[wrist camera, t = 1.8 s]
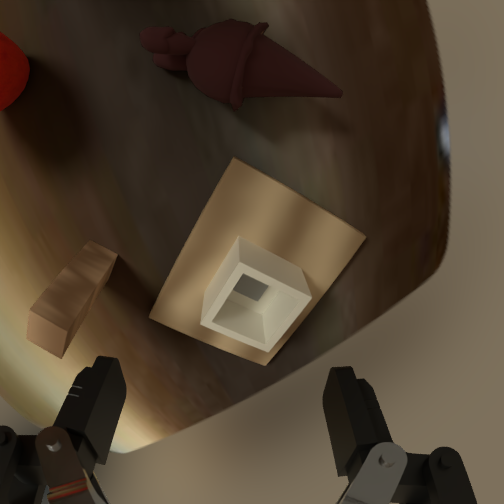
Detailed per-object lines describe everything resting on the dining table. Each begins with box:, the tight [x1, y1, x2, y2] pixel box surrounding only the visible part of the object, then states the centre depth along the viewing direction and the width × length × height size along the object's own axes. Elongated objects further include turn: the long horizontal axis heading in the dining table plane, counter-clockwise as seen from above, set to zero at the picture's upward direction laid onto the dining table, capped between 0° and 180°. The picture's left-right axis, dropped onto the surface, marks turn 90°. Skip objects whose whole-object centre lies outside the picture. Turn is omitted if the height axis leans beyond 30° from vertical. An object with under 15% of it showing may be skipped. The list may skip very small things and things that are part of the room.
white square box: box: [200, 236, 312, 352], centre depth 28 cm, size 7×7×5 cm
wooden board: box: [149, 156, 366, 366], centre depth 31 cm, size 14×18×1 cm
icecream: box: [140, 19, 343, 111], centre depth 20 cm, size 7×7×15 cm
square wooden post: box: [26, 240, 118, 359], centre depth 24 cm, size 3×3×12 cm
